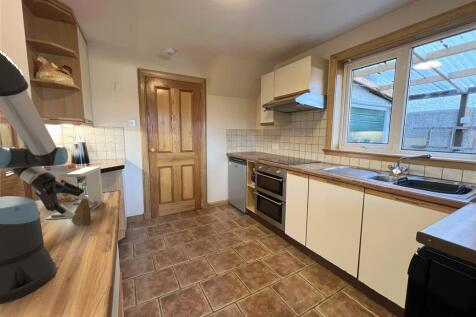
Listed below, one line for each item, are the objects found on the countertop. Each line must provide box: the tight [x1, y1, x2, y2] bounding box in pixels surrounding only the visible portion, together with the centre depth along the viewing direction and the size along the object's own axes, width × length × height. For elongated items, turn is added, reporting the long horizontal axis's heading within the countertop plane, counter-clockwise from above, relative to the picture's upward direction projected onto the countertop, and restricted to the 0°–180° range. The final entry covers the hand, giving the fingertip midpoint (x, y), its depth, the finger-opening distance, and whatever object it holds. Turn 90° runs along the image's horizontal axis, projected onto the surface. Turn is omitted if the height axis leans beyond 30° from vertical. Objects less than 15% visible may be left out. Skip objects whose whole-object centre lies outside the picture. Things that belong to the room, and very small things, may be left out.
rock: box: [70, 199, 92, 226], centre depth 89 cm, size 11×9×10 cm
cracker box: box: [43, 163, 79, 202], centre depth 116 cm, size 14×6×21 cm, turn 84°
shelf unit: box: [44, 166, 105, 221], centre depth 102 cm, size 21×15×20 cm
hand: (82, 210), depth 90 cm, fingers open, 13 cm apart
